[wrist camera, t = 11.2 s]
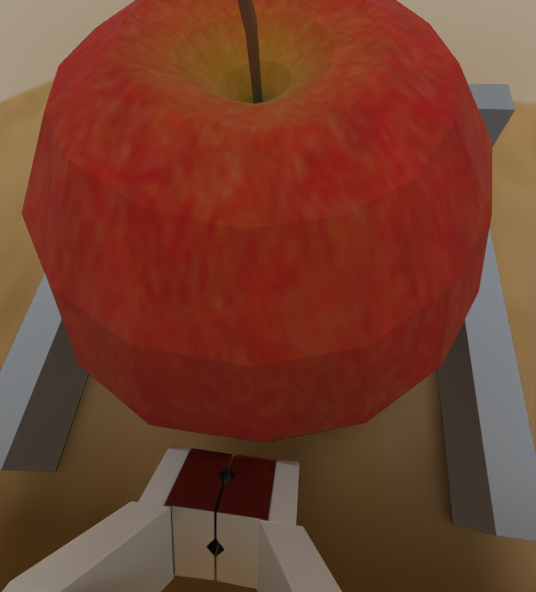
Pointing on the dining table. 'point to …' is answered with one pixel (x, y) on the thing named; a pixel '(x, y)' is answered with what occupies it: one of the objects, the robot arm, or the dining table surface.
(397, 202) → the apple
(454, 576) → the dining table surface
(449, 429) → the frame
